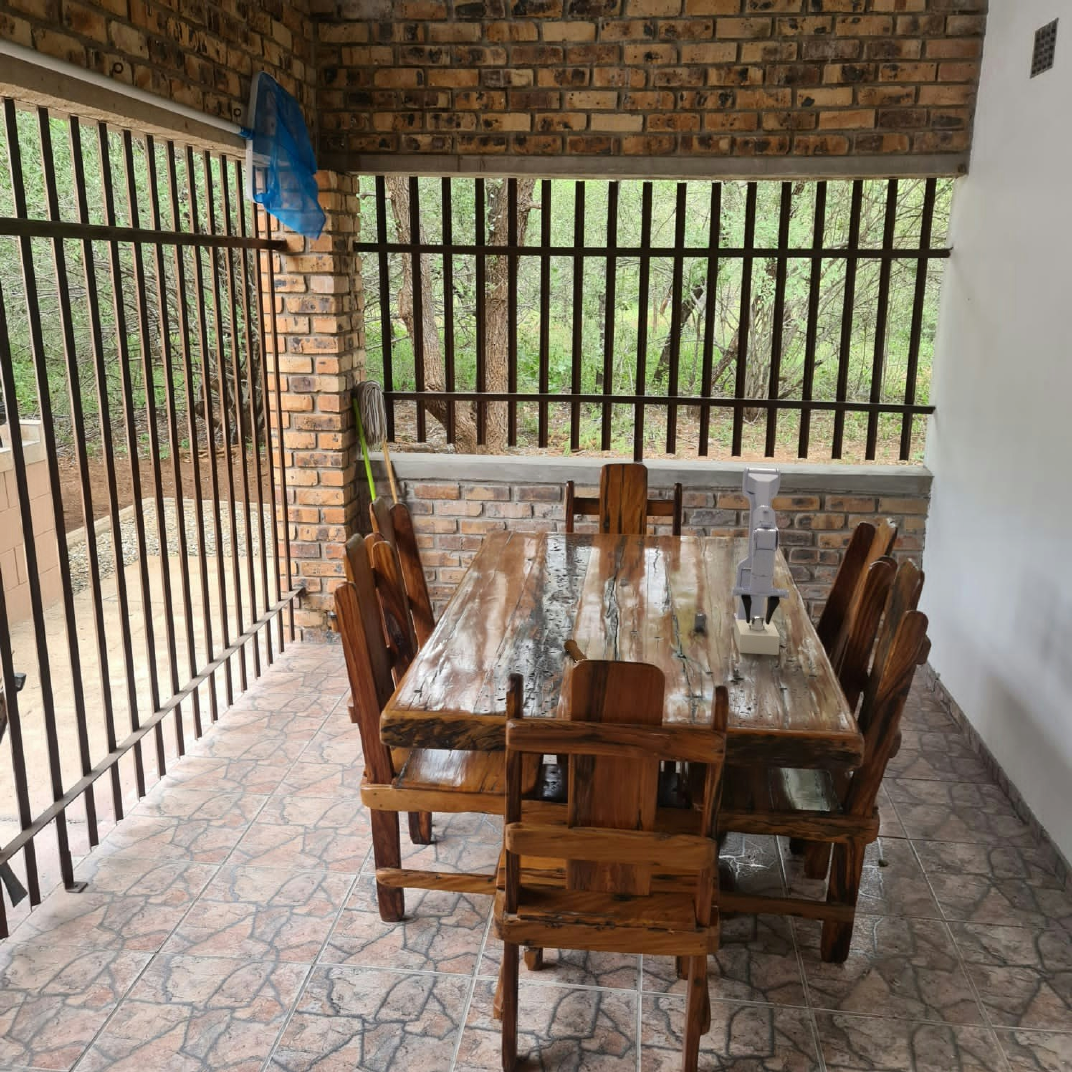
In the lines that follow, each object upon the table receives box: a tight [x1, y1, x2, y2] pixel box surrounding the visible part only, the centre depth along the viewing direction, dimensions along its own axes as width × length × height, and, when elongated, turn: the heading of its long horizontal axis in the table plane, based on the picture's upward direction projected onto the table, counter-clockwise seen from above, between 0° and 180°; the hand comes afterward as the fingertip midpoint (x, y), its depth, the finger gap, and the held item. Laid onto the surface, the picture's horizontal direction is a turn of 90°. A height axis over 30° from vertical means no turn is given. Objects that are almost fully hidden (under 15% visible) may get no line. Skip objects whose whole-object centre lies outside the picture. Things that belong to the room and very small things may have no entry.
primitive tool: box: [563, 638, 588, 661], centre depth 239 cm, size 19×6×4 cm, turn 19°
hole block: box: [733, 618, 781, 656], centre depth 254 cm, size 12×10×5 cm
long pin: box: [751, 615, 765, 631], centre depth 254 cm, size 3×3×8 cm
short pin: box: [693, 612, 707, 633], centre depth 265 cm, size 3×3×4 cm
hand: (757, 622), depth 253 cm, fingers open, 4 cm apart
